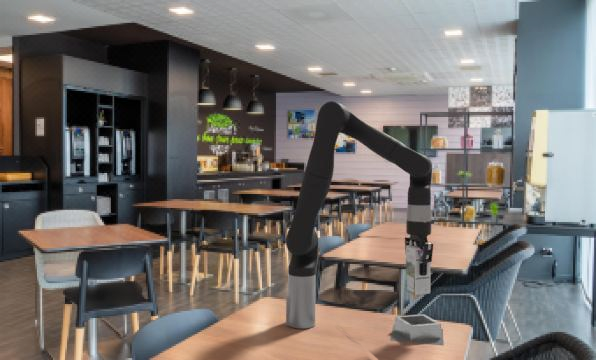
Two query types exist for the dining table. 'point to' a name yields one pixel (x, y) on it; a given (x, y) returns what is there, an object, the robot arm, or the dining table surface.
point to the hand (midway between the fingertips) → (417, 272)
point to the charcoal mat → (397, 337)
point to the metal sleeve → (417, 327)
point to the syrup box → (416, 272)
